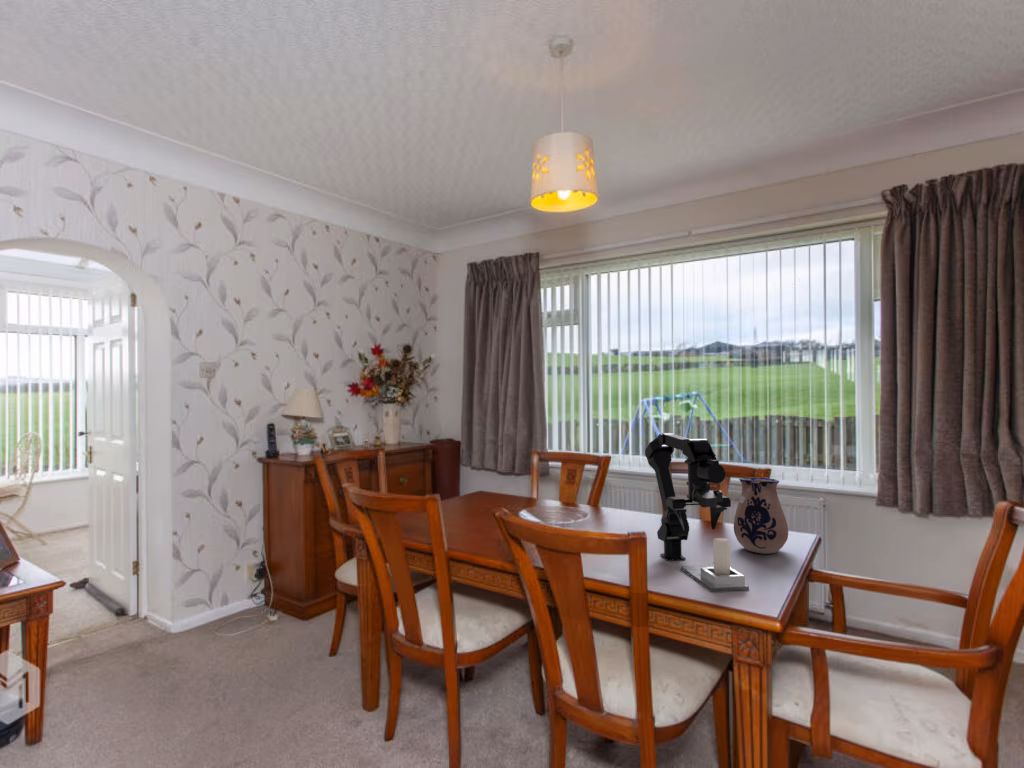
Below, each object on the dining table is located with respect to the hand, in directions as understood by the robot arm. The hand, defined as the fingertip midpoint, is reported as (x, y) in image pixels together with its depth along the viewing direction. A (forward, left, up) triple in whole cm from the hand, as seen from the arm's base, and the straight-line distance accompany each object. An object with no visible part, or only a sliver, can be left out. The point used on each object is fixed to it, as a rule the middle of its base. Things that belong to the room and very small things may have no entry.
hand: (699, 529), depth 170 cm
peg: (+12, +1, -12) cm, 17 cm away
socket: (+6, +1, -13) cm, 15 cm away
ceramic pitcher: (-21, +33, -13) cm, 41 cm away
